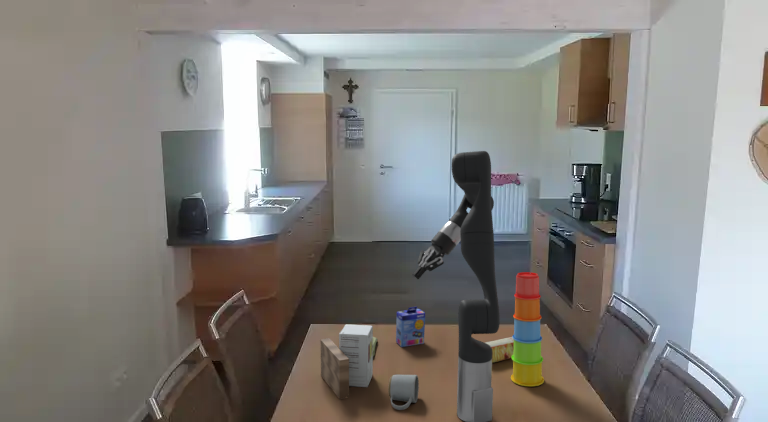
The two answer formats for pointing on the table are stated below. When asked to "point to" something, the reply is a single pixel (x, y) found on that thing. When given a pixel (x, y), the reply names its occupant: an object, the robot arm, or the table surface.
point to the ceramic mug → (403, 389)
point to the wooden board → (335, 368)
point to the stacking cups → (527, 332)
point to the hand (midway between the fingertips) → (415, 277)
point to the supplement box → (358, 352)
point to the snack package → (502, 349)
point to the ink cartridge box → (410, 327)
